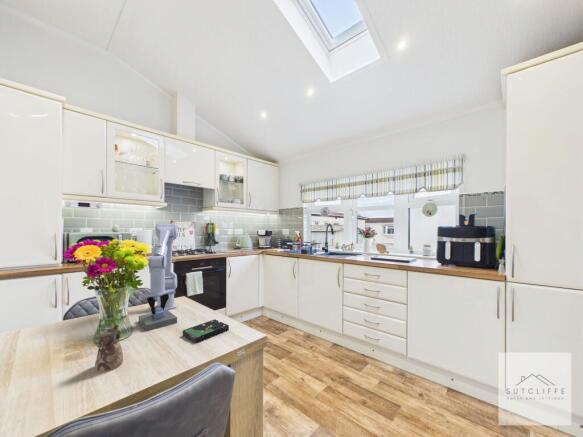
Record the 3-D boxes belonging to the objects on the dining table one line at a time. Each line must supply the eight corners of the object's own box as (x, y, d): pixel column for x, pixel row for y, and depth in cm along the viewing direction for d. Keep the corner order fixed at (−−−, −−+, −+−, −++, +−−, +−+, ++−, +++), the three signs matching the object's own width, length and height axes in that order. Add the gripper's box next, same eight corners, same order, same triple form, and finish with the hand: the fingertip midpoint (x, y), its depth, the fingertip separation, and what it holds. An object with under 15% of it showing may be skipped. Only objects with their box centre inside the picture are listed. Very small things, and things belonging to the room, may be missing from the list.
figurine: (90, 368, 77) (90, 329, 77) (115, 357, 83) (115, 321, 84) (102, 375, 74) (102, 333, 74) (127, 363, 80) (127, 325, 80)
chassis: (138, 321, 114) (138, 315, 114) (167, 314, 122) (167, 309, 122) (146, 331, 103) (146, 325, 104) (177, 323, 112) (177, 317, 112)
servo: (151, 315, 114) (151, 305, 114) (158, 313, 116) (158, 303, 116) (156, 320, 108) (156, 309, 109) (164, 318, 111) (164, 308, 111)
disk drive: (214, 325, 110) (181, 337, 99) (214, 318, 111) (182, 329, 99) (229, 331, 104) (196, 345, 92) (229, 324, 104) (196, 337, 93)
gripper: (141, 286, 105) (141, 319, 105) (177, 281, 115) (177, 311, 115) (137, 284, 110) (137, 315, 110) (172, 278, 120) (172, 307, 120)
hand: (157, 312), depth 113 cm, fingers closed on servo, 3 cm apart
